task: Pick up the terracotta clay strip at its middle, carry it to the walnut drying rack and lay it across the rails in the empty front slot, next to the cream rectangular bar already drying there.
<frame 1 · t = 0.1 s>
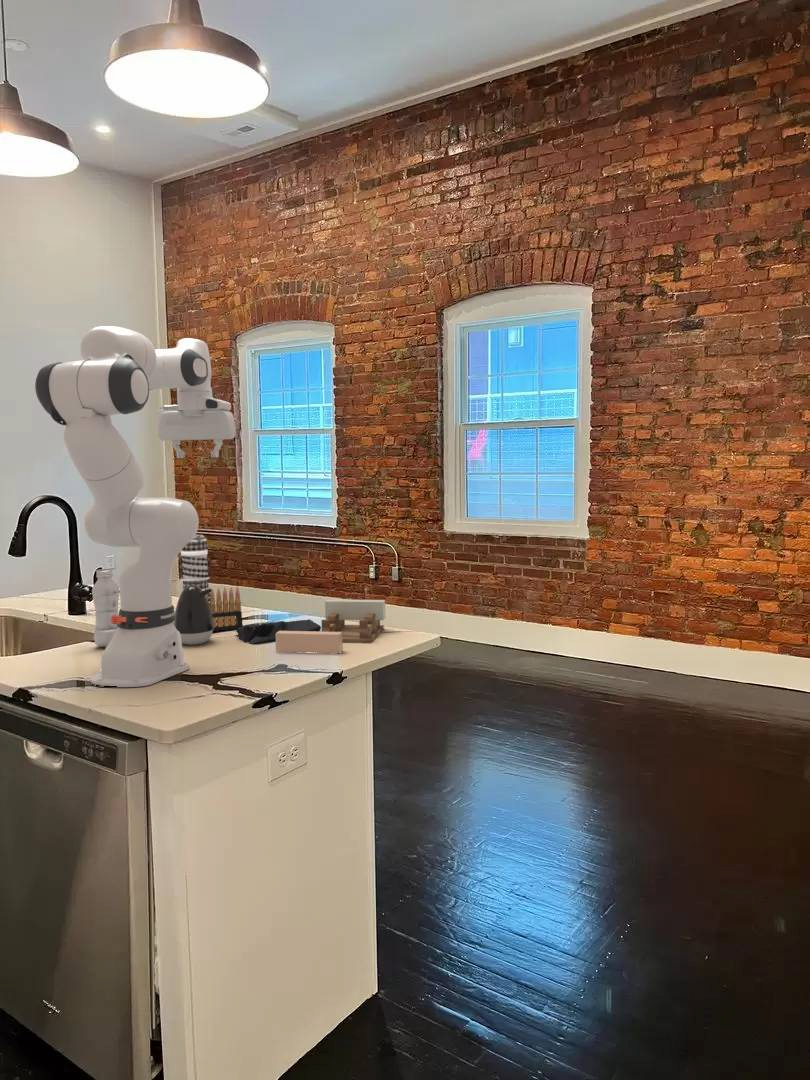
hand: (197, 457, 207), 48 cm above the countertop, tool pointing down, fingers open, 8 cm apart
ammunition clip: (223, 630, 222), on the countertop
plastic bottle: (108, 647, 205), on the countertop
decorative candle: (197, 617, 243), on the countertop
cream rectangular bar: (355, 618, 216), point 3 cm above the countertop, touching walnut drying rack
clay strip: (309, 652, 194), on the countertop
dark slate chunk: (279, 637, 214), on the countertop
pump dispenser: (195, 643, 207), on the countertop
walnut drying rack: (352, 635, 212), on the countertop
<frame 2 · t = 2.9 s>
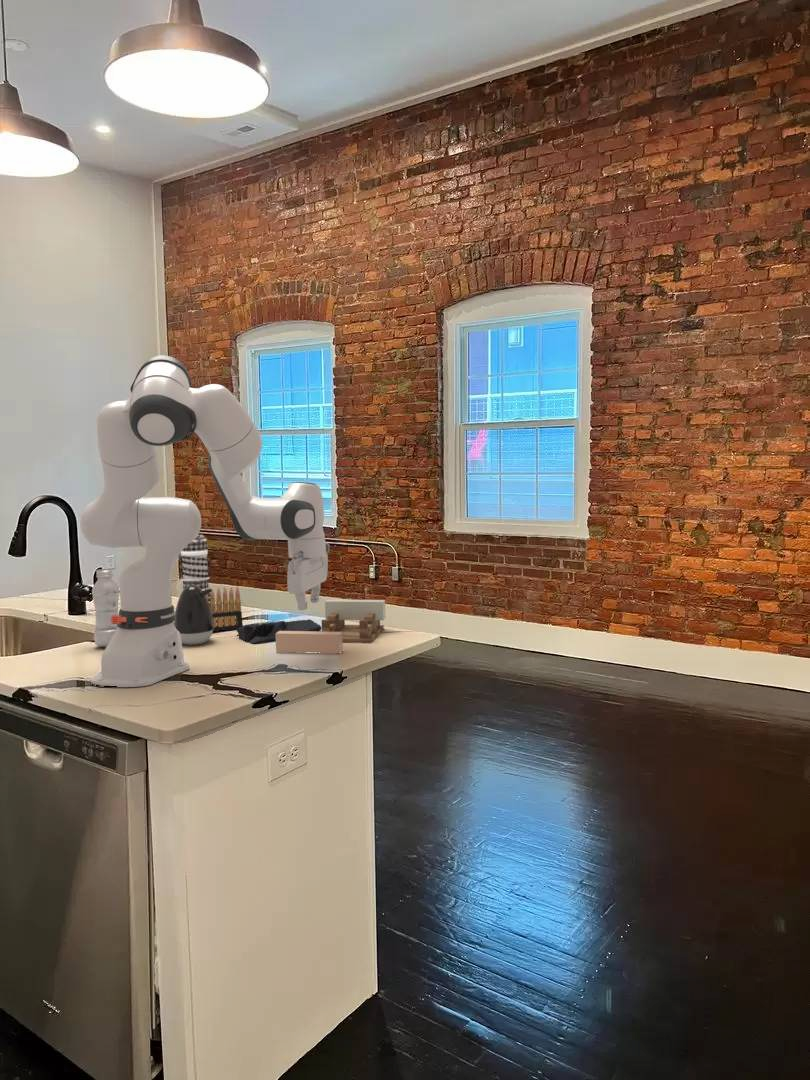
hand: (308, 605, 193), 11 cm above the countertop, tool pointing down, fingers open, 8 cm apart
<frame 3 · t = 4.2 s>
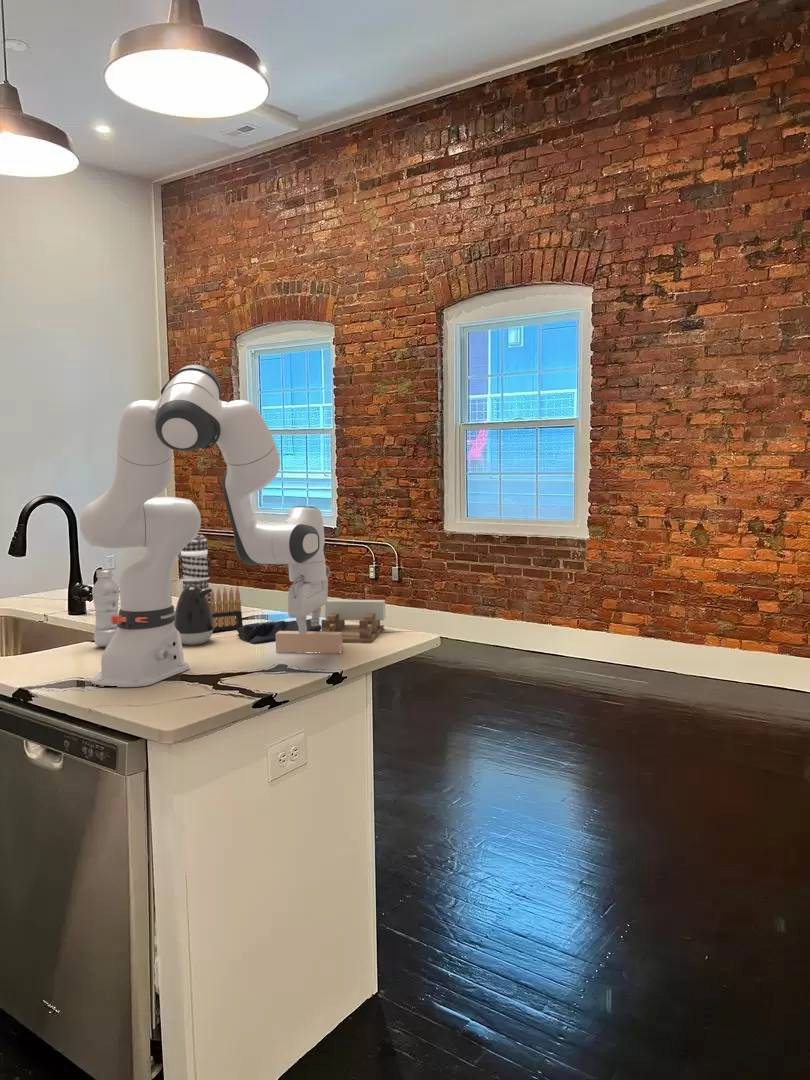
hand: (309, 629, 193), 6 cm above the countertop, tool pointing down, fingers open, 8 cm apart
nothing on the countertop moved.
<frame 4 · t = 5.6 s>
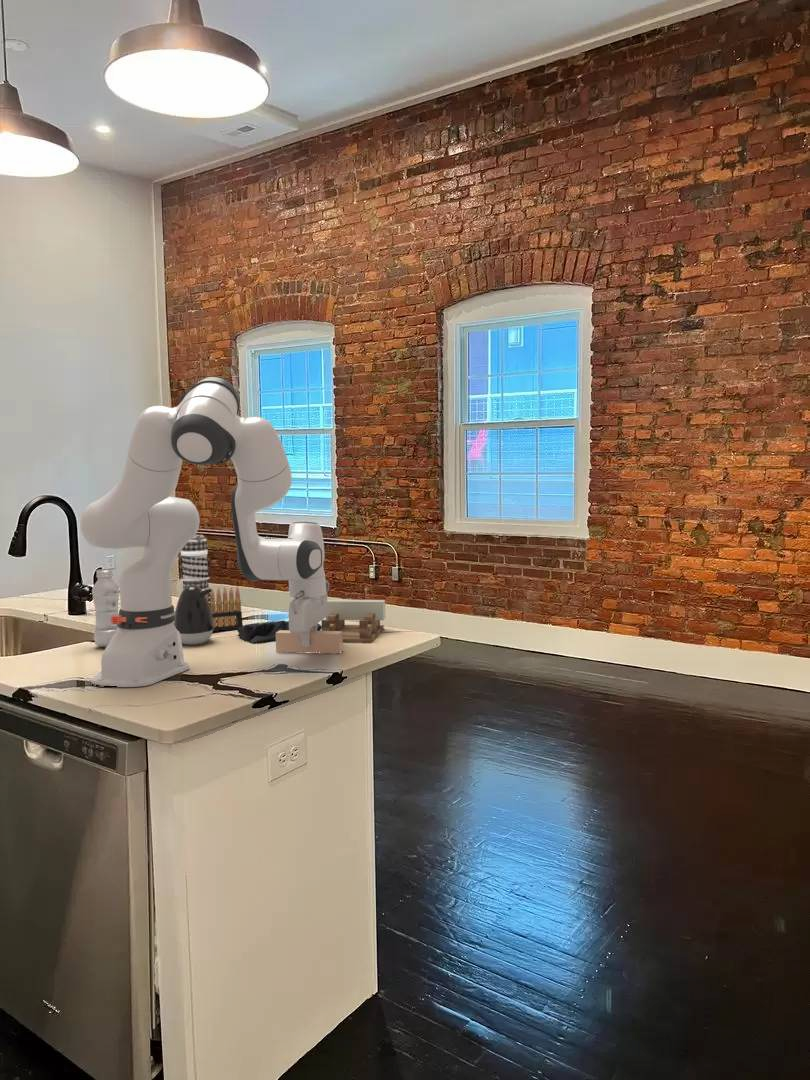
hand: (309, 644, 194), 2 cm above the countertop, tool pointing down, fingers closed on clay strip, 3 cm apart
clay strip: (309, 652, 194), on the countertop, touching gripper
everything else where it was.
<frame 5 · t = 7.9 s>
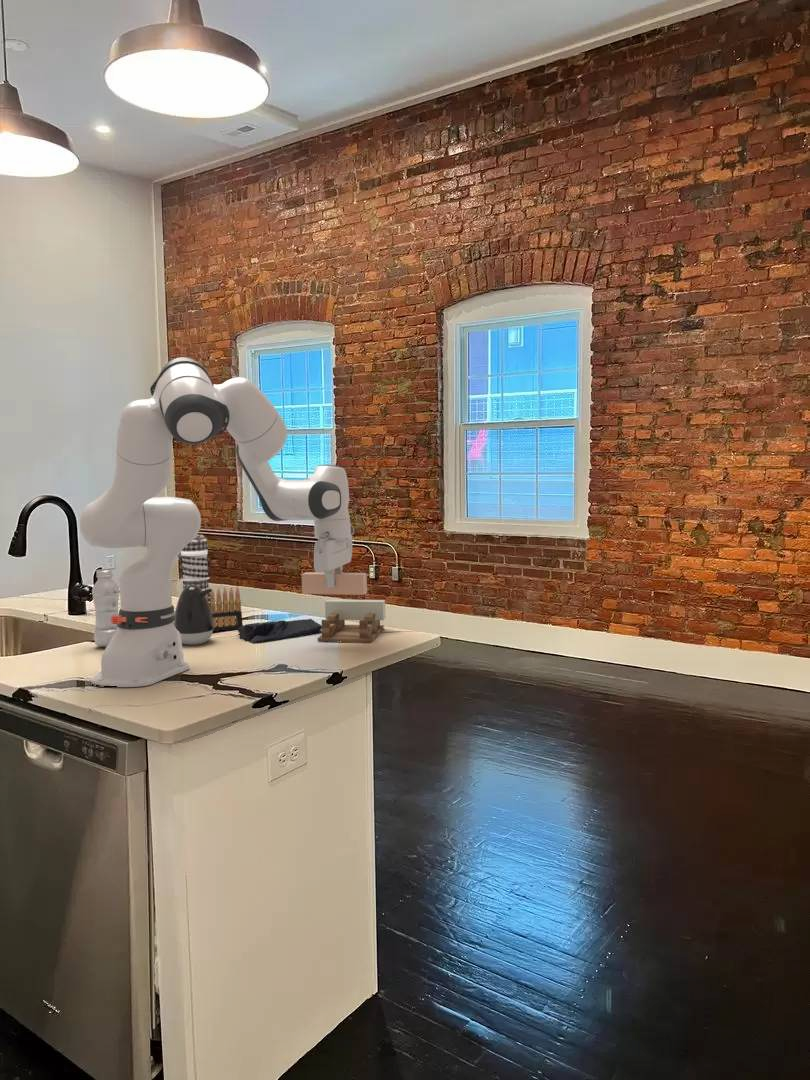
hand: (334, 585, 199), 15 cm above the countertop, tool pointing down, fingers closed on clay strip, 3 cm apart
clay strip: (334, 593, 199), point 13 cm above the countertop, touching gripper
when the fingers open (7 cm above the countertop, at t = 10.1 s): clay strip drops 1 cm, resting on walnut drying rack.
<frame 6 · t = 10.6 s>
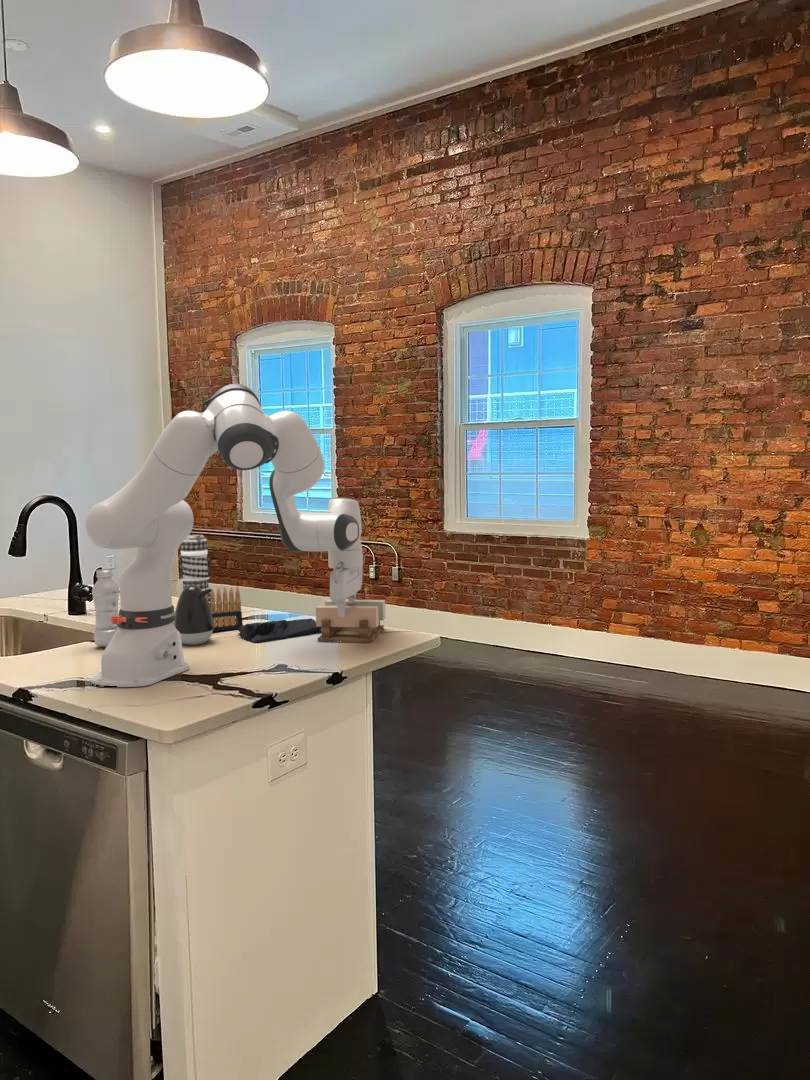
hand: (347, 612, 207), 7 cm above the countertop, tool pointing down, fingers open, 8 cm apart
clay strip: (347, 625, 207), point 3 cm above the countertop, touching walnut drying rack
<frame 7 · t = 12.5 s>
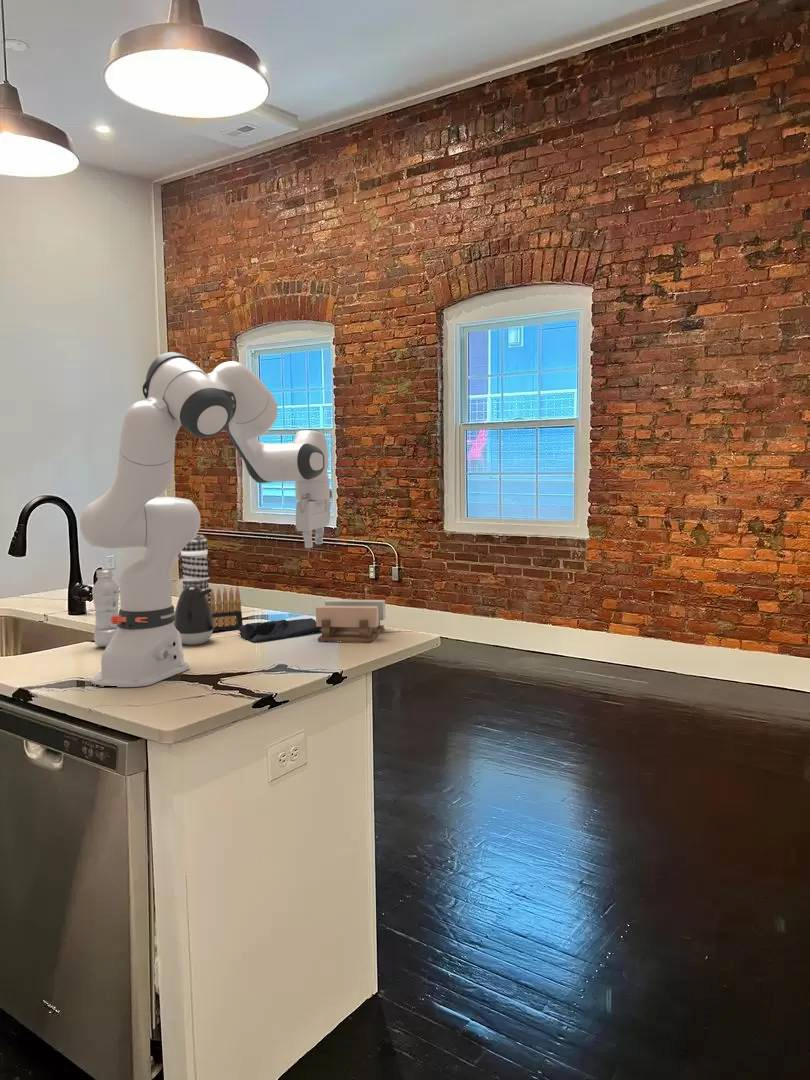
hand: (314, 546, 208), 24 cm above the countertop, tool pointing down, fingers open, 8 cm apart
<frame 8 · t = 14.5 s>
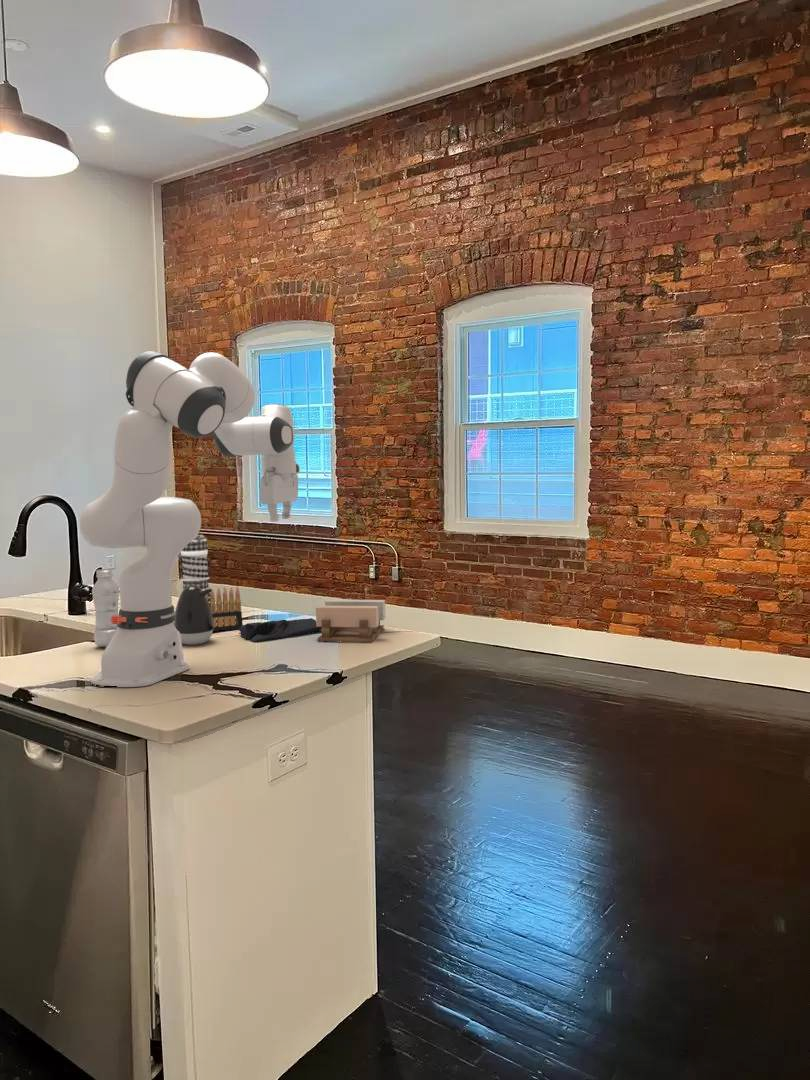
hand: (280, 519, 210), 31 cm above the countertop, tool pointing down, fingers open, 8 cm apart
at the end: clay strip 0.1 cm from the target spot on the walnut drying rack, point 3.5 cm above the walnut drying rack's base; clay strip tilted 0°; cream rectangular bar moved 0.1 cm from its start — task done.
